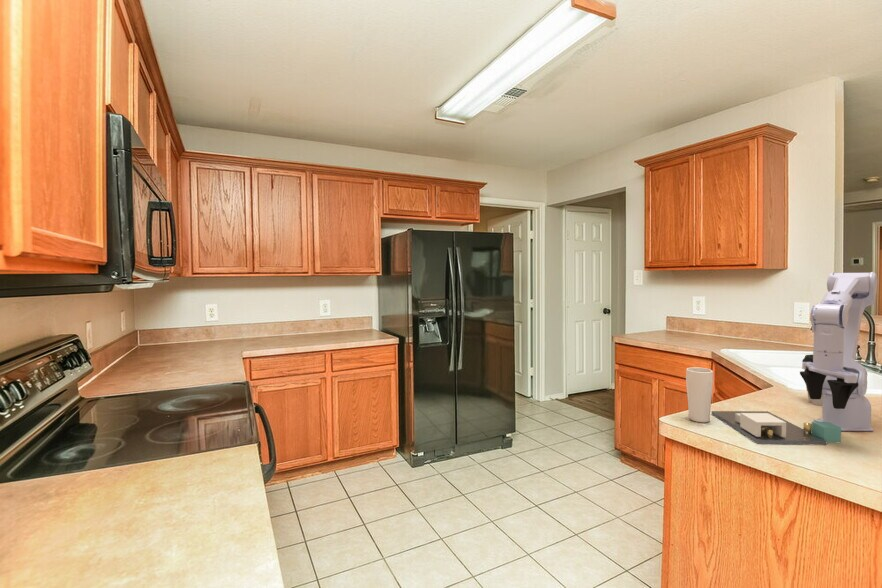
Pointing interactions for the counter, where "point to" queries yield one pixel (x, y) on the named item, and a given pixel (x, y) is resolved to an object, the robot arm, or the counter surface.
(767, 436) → the base plate
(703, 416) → the drinking glass
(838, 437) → the block
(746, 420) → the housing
